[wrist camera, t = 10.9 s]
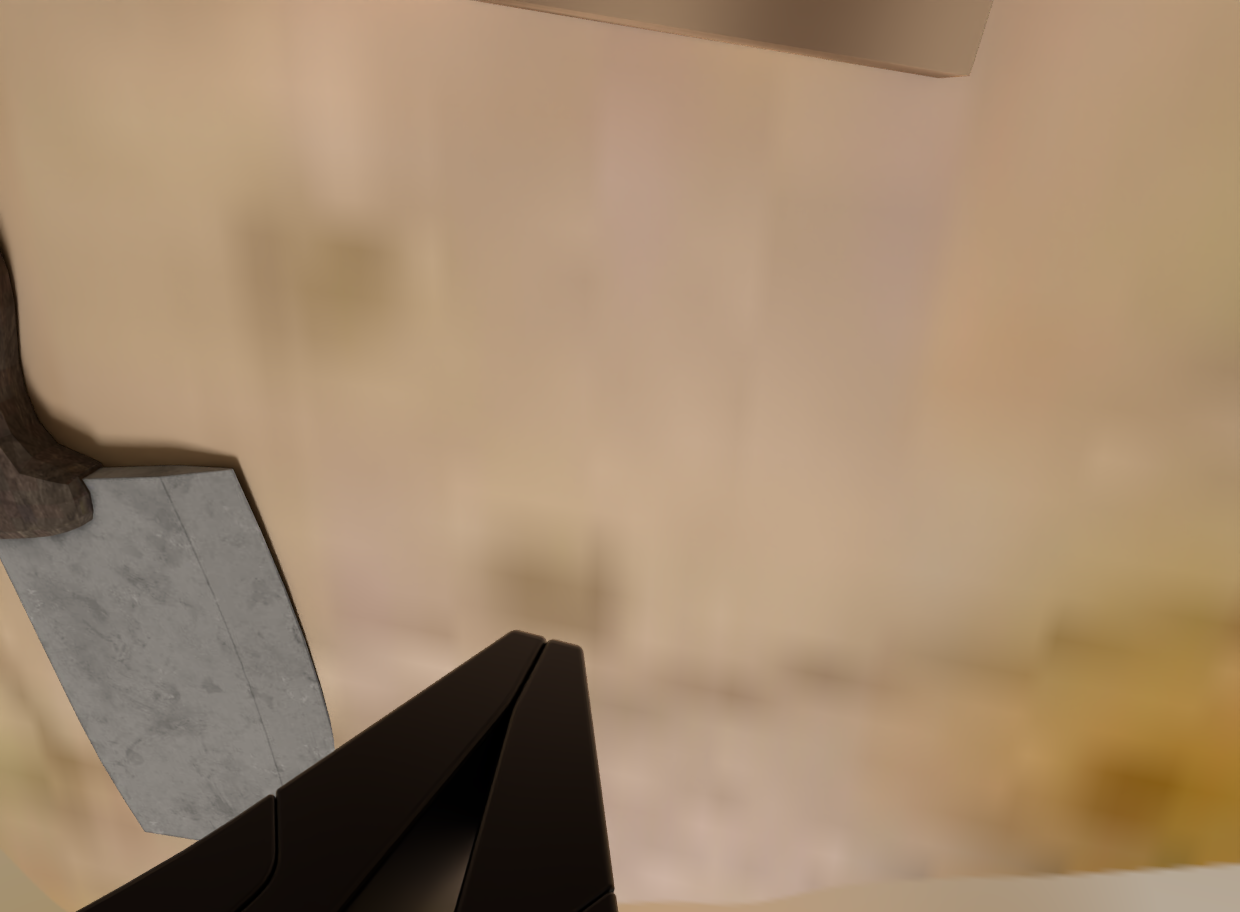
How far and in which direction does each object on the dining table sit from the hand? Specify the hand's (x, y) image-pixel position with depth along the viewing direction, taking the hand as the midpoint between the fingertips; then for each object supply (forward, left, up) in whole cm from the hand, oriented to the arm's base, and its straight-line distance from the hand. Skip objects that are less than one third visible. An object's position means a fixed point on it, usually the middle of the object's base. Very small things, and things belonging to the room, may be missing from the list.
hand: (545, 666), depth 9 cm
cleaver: (+16, +8, -12) cm, 22 cm away
